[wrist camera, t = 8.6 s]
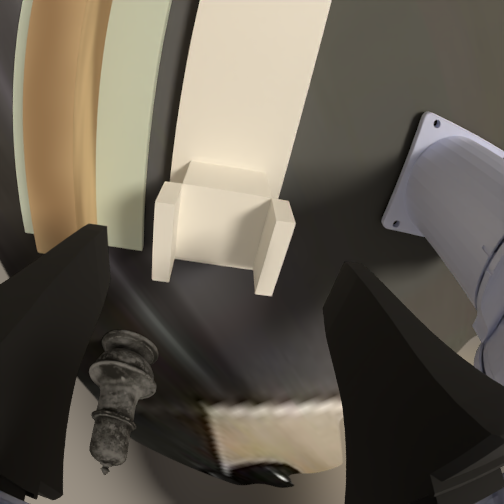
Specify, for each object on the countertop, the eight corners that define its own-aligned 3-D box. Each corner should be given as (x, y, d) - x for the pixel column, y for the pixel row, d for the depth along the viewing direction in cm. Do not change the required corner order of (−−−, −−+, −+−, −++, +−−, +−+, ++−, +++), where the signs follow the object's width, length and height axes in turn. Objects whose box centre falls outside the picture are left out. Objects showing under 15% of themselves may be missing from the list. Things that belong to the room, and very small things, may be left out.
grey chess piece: (136, 373, 29) (117, 486, 19) (88, 342, 26) (53, 461, 16) (175, 354, 27) (161, 484, 17) (122, 317, 24) (87, 458, 14)
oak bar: (161, -141, 5) (149, -164, 3) (97, 231, 19) (80, 260, 16) (110, -135, 5) (92, -154, 2) (57, 225, 18) (37, 252, 16)
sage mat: (221, -147, 6) (221, -151, 5) (143, 246, 20) (141, 251, 20) (74, -132, 4) (71, -134, 4) (28, 228, 19) (25, 232, 18)
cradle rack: (357, -119, 7) (398, -159, 2) (257, 263, 21) (263, 330, 17) (249, -145, 6) (254, -197, 1) (165, 249, 20) (148, 315, 16)
